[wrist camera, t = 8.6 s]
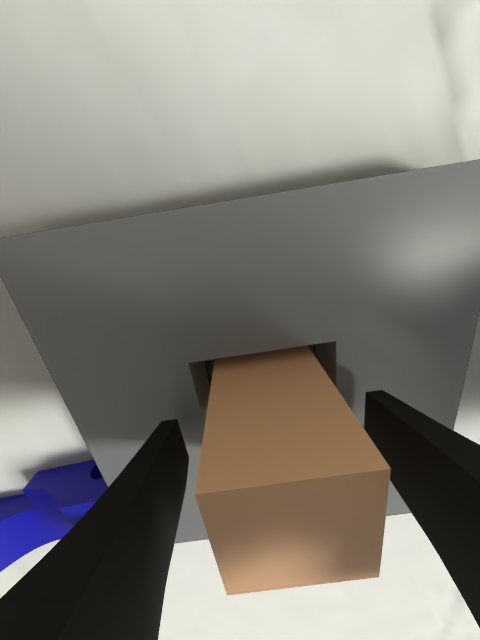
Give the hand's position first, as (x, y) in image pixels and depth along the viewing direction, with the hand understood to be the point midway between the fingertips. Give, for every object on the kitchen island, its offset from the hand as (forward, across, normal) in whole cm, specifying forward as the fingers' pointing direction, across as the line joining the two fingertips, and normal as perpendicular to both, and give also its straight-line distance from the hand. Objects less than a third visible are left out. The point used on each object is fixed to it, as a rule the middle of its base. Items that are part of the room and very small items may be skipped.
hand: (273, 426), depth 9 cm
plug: (+3, 0, 0) cm, 3 cm away
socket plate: (+3, 0, 0) cm, 3 cm away
